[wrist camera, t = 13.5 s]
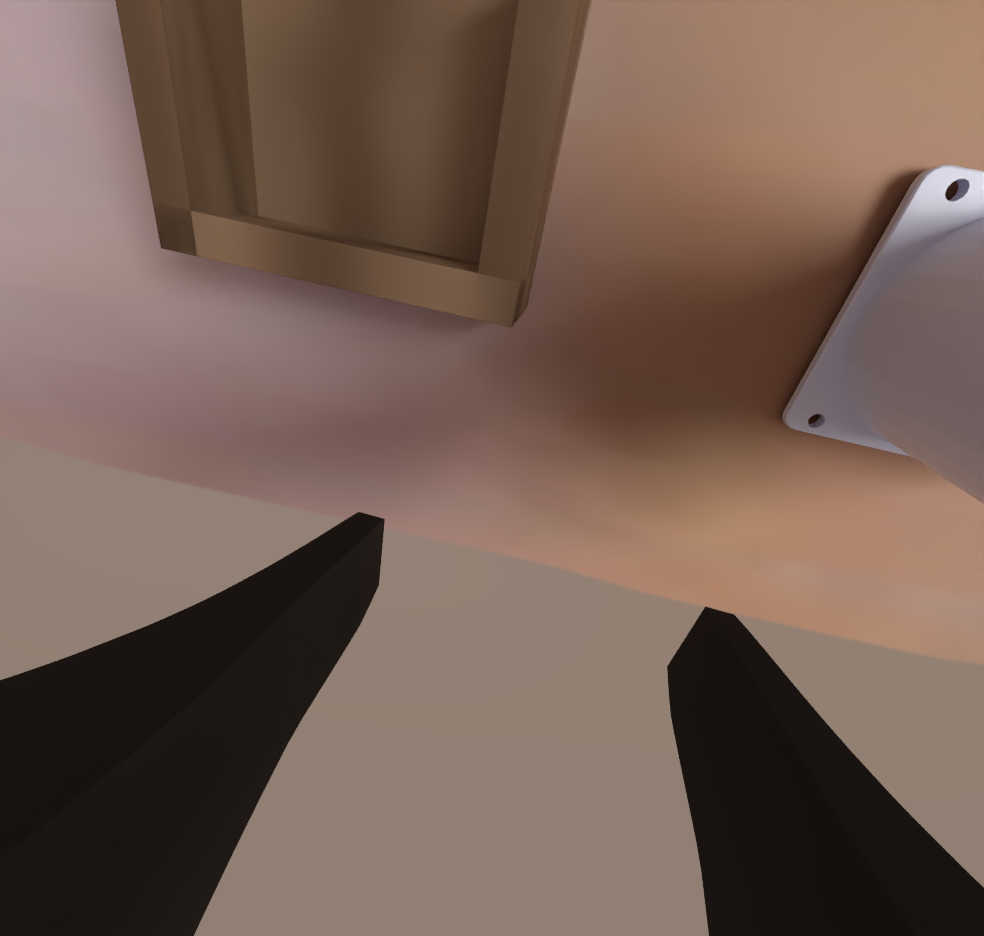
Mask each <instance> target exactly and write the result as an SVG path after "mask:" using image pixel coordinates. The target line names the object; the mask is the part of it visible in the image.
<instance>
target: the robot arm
mask: <svg viewBox="0 0 984 936" xmlns="http://www.w3.org/2000/svg"><path fill="white" fill-rule="evenodd" d="M954 181H955V182H957V183H958V187H959V188H958V190H957V193H956V194H955V196H954V197H953V198H952V199H950V200H947V199H946V196H945V193H946V190H947V188H948V187H949V185H950V184H951V183H952V182H954ZM815 414H820V416H819V419H818V420H817V421H816V422H814V423H812V424H808V420H809V418H810V417H811V416H813V415H815ZM782 417H783V421H784V423H785V424H786V425H787V426H788V427H790V428H792V429H794V430H798V431H802V432H807V433H811V434H815V435H819V436H824V437H828V438H832V439H837V440H841V441H845V442H850V443H854V444H858V445H862V446H867V447H871V448H875V449H880V450H884V451H888V452H893V453H897V454H901V455H906V456H910V457H913V458H914V459H916V460H918V461H919V462H921V463H922V464H924V465H925V466H927V467H928V468H930V469H931V470H933V471H934V472H936V473H937V474H939V475H940V476H942V477H944V478H945V479H947V480H948V481H950V482H951V483H953V484H954V485H956V486H957V487H959V488H960V489H962V490H963V491H965V492H966V493H968V494H970V495H971V496H973V497H974V498H976V499H977V500H979V501H980V502H982V503H983V504H984V171H979V170H974V169H969V168H963V167H958V166H953V165H941V166H936V167H932V168H930V169H927V170H925V171H924V172H922V173H921V174H920V175H918V176H917V177H916V179H915V180H914V181H913V183H912V184H911V185H910V187H909V189H908V191H907V193H906V194H905V196H904V198H903V200H902V201H901V203H900V205H899V207H898V209H897V210H896V212H895V214H894V216H893V217H892V219H891V221H890V223H889V225H888V226H887V228H886V230H885V232H884V234H883V235H882V237H881V239H880V241H879V242H878V244H877V246H876V248H875V250H874V251H873V253H872V255H871V257H870V258H869V260H868V262H867V264H866V266H865V267H864V269H863V271H862V273H861V275H860V276H859V278H858V280H857V282H856V283H855V285H854V287H853V289H852V291H851V292H850V294H849V296H848V298H847V299H846V301H845V303H844V305H843V307H842V308H841V310H840V312H839V314H838V315H837V317H836V319H835V321H834V323H833V324H832V326H831V328H830V330H829V332H828V333H827V335H826V337H825V339H824V340H823V342H822V344H821V346H820V348H819V349H818V351H817V353H816V355H815V356H814V358H813V360H812V362H811V364H810V365H809V367H808V369H807V371H806V372H805V374H804V376H803V378H802V380H801V381H800V383H799V385H798V387H797V389H796V390H795V392H794V394H793V396H792V397H791V399H790V401H789V403H788V405H787V406H786V408H785V410H784V412H783V415H782ZM384 520H385V519H382V518H379V517H375V516H371V515H368V514H364V513H361V512H358V513H356V514H354V515H353V516H351V517H349V518H348V519H346V520H345V521H343V522H341V523H340V524H338V525H337V526H335V527H333V528H332V529H330V530H329V531H327V532H325V533H324V534H322V535H321V536H319V537H318V538H316V539H314V540H312V541H311V542H309V543H308V544H306V545H304V546H303V547H301V548H299V549H298V550H296V551H294V552H292V553H291V554H289V555H287V556H286V557H284V558H283V559H281V560H279V561H277V562H275V563H274V564H272V565H270V566H268V567H267V568H265V569H263V570H261V571H259V572H257V573H256V574H254V575H252V576H250V577H248V578H246V579H244V580H243V581H241V582H239V583H237V584H236V585H233V586H232V587H229V588H228V589H226V590H224V591H222V592H220V593H218V594H216V595H214V596H212V597H210V598H208V599H206V600H204V601H202V602H200V603H197V604H195V605H193V606H191V607H189V608H187V609H184V610H182V611H180V612H178V613H176V614H173V615H171V616H169V617H167V618H164V619H162V620H160V621H158V622H155V623H153V624H151V625H148V626H146V627H143V628H141V629H138V630H136V631H133V632H131V633H128V634H126V635H123V636H120V637H118V638H116V639H113V640H110V641H108V642H105V643H103V644H100V645H97V646H95V647H92V648H90V649H88V650H85V651H82V652H80V653H77V654H75V655H72V656H69V657H66V658H64V659H61V660H58V661H55V662H53V663H50V664H47V665H44V666H41V667H38V668H35V669H32V670H30V671H27V672H24V673H21V674H18V675H15V676H12V677H9V678H6V679H3V680H0V936H194V934H195V932H196V930H197V928H198V925H199V923H200V921H201V919H202V917H203V914H204V913H205V911H206V909H207V906H208V904H209V902H210V900H211V898H212V896H213V893H214V892H215V890H216V887H217V885H218V883H219V881H220V879H221V877H222V875H223V873H224V871H225V868H226V866H227V864H228V862H229V860H230V858H231V856H232V854H233V852H234V850H235V848H236V846H237V844H238V842H239V840H240V838H241V835H242V834H243V831H244V829H245V827H246V825H247V823H248V821H249V819H250V817H251V815H252V813H253V811H254V809H255V807H256V805H257V803H258V801H259V799H260V797H261V795H262V793H263V791H264V789H265V787H266V785H267V783H268V781H269V779H270V777H271V775H272V773H273V771H274V769H275V768H276V766H277V763H278V762H279V760H280V758H281V756H282V754H283V752H284V750H285V748H286V746H287V744H288V742H289V740H290V739H291V737H292V735H293V734H294V732H295V730H296V728H297V727H298V725H299V723H300V721H301V720H302V718H303V716H304V715H305V713H306V711H307V710H308V708H309V707H310V705H311V703H312V702H313V700H314V699H315V697H316V695H317V694H318V692H319V690H320V689H321V687H322V686H323V684H324V683H325V681H326V679H327V678H328V676H329V675H330V673H331V671H332V670H333V668H334V666H335V665H336V663H337V662H338V660H339V658H340V657H341V655H342V654H343V652H344V650H345V649H346V647H347V646H348V644H349V642H350V641H351V639H352V637H353V635H354V634H355V632H356V631H357V629H358V627H359V626H360V624H361V622H362V620H363V618H364V615H365V613H366V611H367V609H368V607H369V605H370V603H371V601H372V599H373V596H374V594H375V592H376V590H377V588H378V586H379V577H380V565H381V554H382V542H383V532H384ZM667 670H668V686H669V700H670V711H671V718H672V724H673V729H674V734H675V739H676V744H677V749H678V754H679V759H680V764H681V768H682V774H683V779H684V784H685V788H686V793H687V798H688V803H689V808H690V813H691V817H692V821H693V827H694V832H695V837H696V841H697V848H698V853H699V860H700V866H701V872H702V880H703V888H704V897H705V904H706V914H707V922H708V931H709V936H984V888H983V887H982V886H981V885H980V884H979V883H978V882H977V881H976V880H975V879H974V878H973V877H972V876H971V875H970V874H969V873H968V872H967V871H966V870H965V869H964V868H963V867H962V866H961V865H960V864H959V863H958V862H957V861H956V860H955V859H954V858H953V857H952V856H951V855H950V854H949V853H947V851H946V850H945V849H944V848H943V847H942V846H941V845H940V844H939V843H938V842H937V841H936V840H935V839H934V838H933V837H932V836H931V835H930V834H928V832H927V831H926V830H925V829H924V828H923V827H922V826H921V825H920V824H918V822H917V821H916V820H915V819H914V818H913V817H912V816H911V815H910V814H909V813H908V812H907V811H906V810H905V809H904V808H903V807H902V806H901V805H900V804H899V803H898V802H897V801H896V800H895V798H893V796H892V795H891V794H890V793H889V792H888V791H887V790H886V789H885V788H884V787H883V786H882V785H881V784H880V782H879V781H878V780H877V779H876V778H875V777H874V776H873V775H872V774H871V773H870V772H869V770H868V769H867V768H866V767H865V766H864V765H863V764H862V763H861V762H860V761H859V759H858V758H856V756H855V755H854V754H853V753H852V752H851V751H850V750H849V749H848V747H847V746H846V745H845V744H844V743H843V742H842V741H841V739H840V738H839V737H838V736H837V735H836V734H835V733H834V731H833V730H832V729H831V728H830V727H829V726H828V725H827V723H826V722H825V721H824V720H823V719H822V718H821V717H820V715H819V714H818V713H817V712H816V711H815V709H814V708H813V707H812V706H811V705H810V704H809V702H808V701H807V700H806V699H805V698H804V697H803V695H802V694H801V693H800V692H799V691H798V689H797V688H796V687H795V686H794V685H793V683H792V682H791V681H790V680H789V679H788V677H787V676H786V675H785V674H784V673H783V671H782V670H781V669H780V668H779V667H778V665H777V664H776V663H775V662H774V660H773V659H772V658H771V657H770V656H769V654H768V653H767V652H766V651H765V650H764V649H763V647H762V646H761V645H760V644H759V643H758V641H757V640H756V639H755V638H754V637H753V636H752V634H751V633H750V632H749V631H748V630H747V628H745V626H744V625H743V624H742V623H741V622H740V621H739V620H738V618H737V617H736V616H735V615H734V614H730V613H726V612H723V611H719V610H715V609H712V608H708V607H705V608H704V610H703V611H702V613H701V615H700V616H699V618H698V619H697V621H696V623H695V624H694V626H693V627H692V629H691V630H690V632H689V633H688V635H687V637H686V638H685V640H684V641H683V643H682V644H681V646H680V648H679V649H678V651H677V652H676V654H675V656H674V657H673V659H672V660H671V662H670V663H669V665H668V666H667Z"/></svg>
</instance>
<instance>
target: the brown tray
mask: <svg viewBox="0 0 984 936" xmlns="http://www.w3.org/2000/svg"><path fill="white" fill-rule="evenodd" d="M590 4H591V0H116V6H117V11H118V16H119V22H120V27H121V33H122V38H123V44H124V49H125V54H126V60H127V65H128V71H129V76H130V82H131V87H132V92H133V98H134V103H135V109H136V114H137V120H138V125H139V130H140V136H141V141H142V147H143V152H144V157H145V163H146V168H147V174H148V179H149V185H150V190H151V195H152V201H153V206H154V212H155V217H156V223H157V228H158V233H159V239H160V244H161V248H163V249H167V250H172V251H176V252H181V253H185V254H190V255H194V256H198V257H203V258H207V259H212V260H216V261H220V262H225V263H229V264H234V265H238V266H243V267H247V268H251V269H256V270H260V271H265V272H269V273H274V274H278V275H282V276H287V277H291V278H296V279H300V280H304V281H309V282H313V283H318V284H322V285H327V286H331V287H335V288H340V289H344V290H349V291H353V292H358V293H362V294H366V295H371V296H375V297H380V298H384V299H389V300H393V301H397V302H402V303H406V304H411V305H415V306H419V307H424V308H428V309H433V310H437V311H442V312H446V313H450V314H455V315H459V316H464V317H468V318H473V319H477V320H481V321H486V322H490V323H495V324H499V325H504V326H508V327H512V326H513V325H514V323H515V322H516V321H517V320H518V318H519V317H520V316H521V314H522V313H523V312H524V311H525V309H526V308H527V303H528V299H529V294H530V289H531V284H532V280H533V275H534V270H535V265H536V260H537V256H538V251H539V246H540V241H541V237H542V232H543V227H544V222H545V218H546V213H547V208H548V203H549V199H550V194H551V189H552V184H553V180H554V175H555V170H556V165H557V161H558V156H559V151H560V146H561V142H562V137H563V132H564V127H565V123H566V118H567V113H568V108H569V104H570V99H571V94H572V89H573V84H574V80H575V75H576V70H577V65H578V61H579V56H580V51H581V46H582V42H583V37H584V32H585V27H586V23H587V18H588V13H589V8H590Z"/></svg>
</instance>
